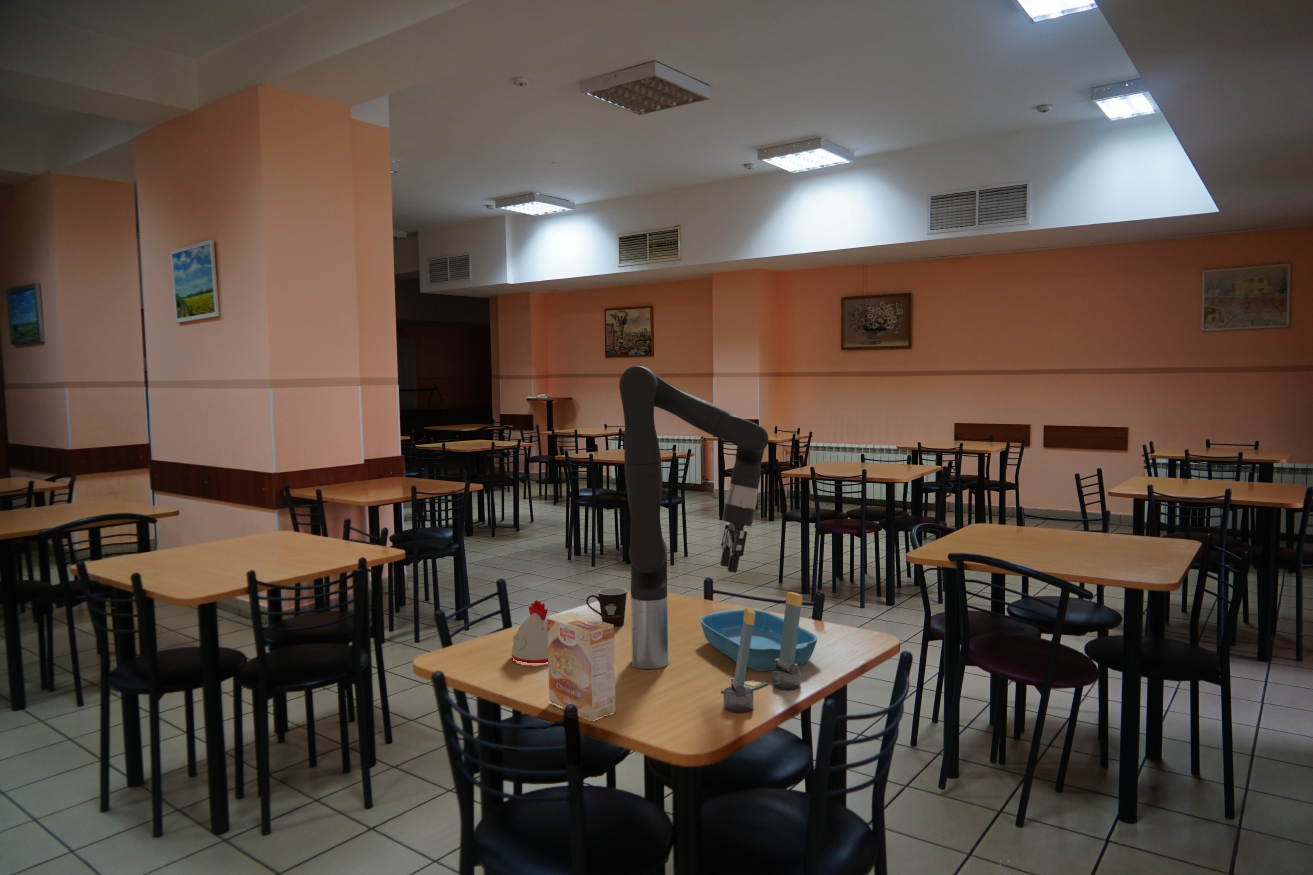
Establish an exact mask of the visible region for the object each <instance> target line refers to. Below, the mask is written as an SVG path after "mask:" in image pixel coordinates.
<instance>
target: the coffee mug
mask: <svg viewBox="0 0 1313 875" xmlns="http://www.w3.org/2000/svg"><path fill="white" fill-rule="evenodd" d="M597 594H598V596H597V595H595V594H590V595H589V596H587V597H586V600H585V601H586V605H587V607H588V608H589V609H591V610H592V611H593V612H595V613H596V614H598V615H600V618H601V621H602V622H605V623H609V624H613V625H614V628H619V627H623V626H624V624H625V617H626V605H627V595H628V590H627V589H626V588H624V587H623V588H622V587H606V588H601V589H599V590H597ZM590 598H595V599H596V600H597V601H598V603H599V608H600V611H598V610H597V609H595V608H593V607H592V605H591V604H590V603H589V599H590Z"/></svg>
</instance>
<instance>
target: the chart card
mask: <svg viewBox="0 0 1313 875" xmlns="http://www.w3.org/2000/svg"><path fill="white" fill-rule="evenodd" d="M744 686H745V687H748V688H750V689H752V690H753V691H755V690H758V689H760V688H763V687H766V686H768V682H766V681H763V680H759V679H757V678H751V679H748V680H746V681H745V680H744ZM724 689H725V688H723V689H720V692H721V693H723V694H724Z"/></svg>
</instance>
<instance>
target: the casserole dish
mask: <svg viewBox="0 0 1313 875" xmlns="http://www.w3.org/2000/svg"><path fill="white" fill-rule="evenodd" d="M753 611H754V612H755V613H756V614H755V620H754V625H753V631H752V637H751V643H750V649H749V656H748V662H747V668H748V669H750V670H753V671H756V672H757V671H758V672H767V671H772V670H773V668H775V659H779V657H780V649H781V641H782V632H783V624H784V618H782V617H780V616H778V615H776V614H773V613H771V612H767V611H765V610H758V609H757V610H756V609H753ZM744 612H745V609H727V610H720V611H714V612H712V613H711V614H710V613H709V614H706V615H703V616H702V617H700V618H699V622H700V624H701V627H702V631H703V635H704V637H705V639H706V641H707V642H708V643H709V644H710V645H711V646H712V647H714V648H715V649H716V650H718V651H719V652H721V653H722V654H724V655H726V656H727V657H729V658H731V659H732V660H734V661H735V662H737V657H738V651H739V645H740V639H741V633H742V626H743V618H744ZM818 638H819V637H818V636H817V635H816V634H814V633H813V632H811V631H809V630H807V629H805V628H803V627H801V626H799V627H798V636H797V644H796V653H795V661H794V664H798V666H800V665H804V664H805V663H807V662H808V661H809V660H810V659H811V657H812V655H813V653H814V650H815V647H816V645H817V643H818ZM747 668H746V669H747Z"/></svg>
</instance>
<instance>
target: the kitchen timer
mask: <svg viewBox="0 0 1313 875" xmlns="http://www.w3.org/2000/svg"><path fill="white" fill-rule="evenodd" d="M545 606H546V605H545V603H542V602H541V601H539V600H536V599H535V600H534V602H533V603H531V606H529V607H528V612H529V616H527V617H525V619H524V620H523V621H522V623H521V624H520V626H519V627H518V629H517V631H516V633H514V634H513V639H512V642H513V644H512V648H511V649H512V650H511V658H512V657H513V658H514V659H515V660H517V661H522V662H527V663H546V662H548V627H547V618H549V617H550V615H548V608H545Z"/></svg>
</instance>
